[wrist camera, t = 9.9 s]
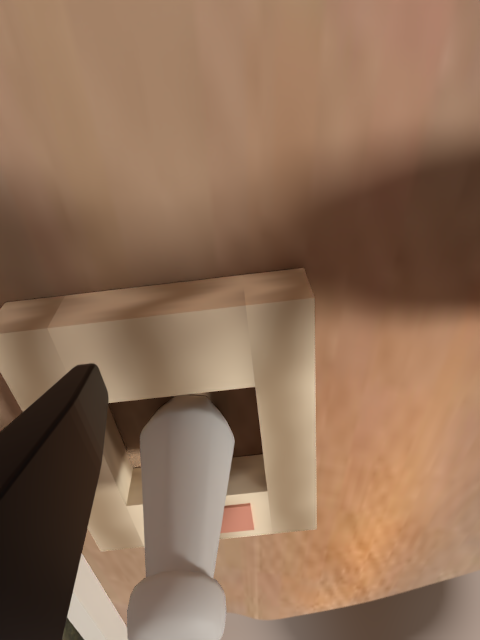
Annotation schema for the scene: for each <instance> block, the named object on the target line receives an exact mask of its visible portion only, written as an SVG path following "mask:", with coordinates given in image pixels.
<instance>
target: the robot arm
mask: <svg viewBox="0 0 480 640" xmlns="http://www.w3.org/2000/svg"><path fill="white" fill-rule="evenodd" d="M108 402H109V397H108V391H107V388H106V386H105V383H104V380H103V378H102V375H101V373H100V370H99V368H98V366H97V365H96V364H94V363H89V364H80V365H76V366H75V367H73V368H72V369H71V370H70V371H69V372H68V373H67V374H65V375H64V376H63V377H62V378H61V379H60V380H59V381H58V382H56V383H55V384H54V385H53V386H52V387H51V388H50V389H48V390H47V391H46V392H45V393H44V394H43V395H42V396H41V397H39V398H38V399H37V400H36V401H35V402H34V403H33V404H31V405H30V406H29V407H28V408H27V409H26V410H25V411H24V412H22V413H21V414H20V415H19V416H18V417H17V418H16V419H14V420H13V421H12V422H11V423H10V424H9V425H8V426H7V427H5V428H4V429H3V430H2V431H1V432H0V640H62V637H63V633H64V629H65V624H66V620H67V616H68V611H69V607H70V602H71V598H72V594H73V589H74V585H75V580H76V576H77V572H78V567H79V563H80V558H81V554H82V550H83V545H84V541H85V537H86V532H87V528H88V523H89V519H90V515H91V510H92V506H93V501H94V497H95V493H96V488H97V484H98V480H99V475H100V470H101V465H102V458H103V449H104V440H105V430H106V421H107V411H108Z"/></svg>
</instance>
